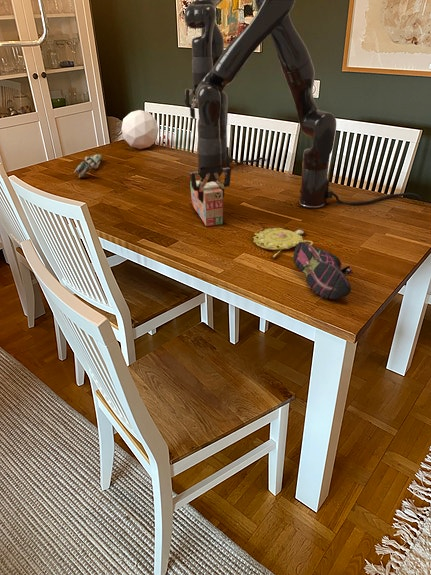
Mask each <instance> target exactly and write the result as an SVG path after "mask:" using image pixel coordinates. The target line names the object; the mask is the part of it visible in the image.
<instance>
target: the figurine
mask: <svg viewBox="0 0 431 575" xmlns="http://www.w3.org/2000/svg"><path fill="white" fill-rule="evenodd" d="M102 161H103V156H102V154H94V155H91V156H88V155H86V156H84V160H82V161H81V162H80V163H79V164H78V166H76V168H75V170H74V171H73V174H74V175H75V176H76V175H77V174H78V176H77V177H78V179H81V178H82V177H83V176H85V174H87V173H88V172H89V171H90V170H92V169H95V170H97V169H99V166H100V164H101V162H102Z"/></svg>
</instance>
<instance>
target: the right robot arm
mask: <svg viewBox="0 0 431 575" xmlns="http://www.w3.org/2000/svg"><path fill="white" fill-rule="evenodd" d="M295 3H296V0H255V6H256V9H257V12H256V14H255V16H254V17H253V18H252V20H251V21H250V22H249V24H248V25H247V26H246V27H245V28H244V29H243V30H242V31H241V32H240V33H239V34H238V35H237V36H236V37H235V38H233V40H232V41H231V42H230V43H228V45H227V46H226V47H225V48H224V52H223V53H222V55H221V56H220V58H219V59H218V60H217V62H216V64H215V65H214V67H213V68H212V70H211V71H210V72H209V73H208V74H207V75H206V76H205V77H204V79H203V80H202V81H201V82H200V84H199V85H198V87H197V89H196V92H195V95H194V96H195V98H196V101H197V102H198V103H197V108H198V110H197V111H198V120H197V158H198V159H197V161H198V169H197V171H192V170H191V171H189V178H190V182H191V184H192V188H193V189H194V191H198V199H199V200H200V201H201V202H203V188H204V186H205V185H206V183H209V182H215V183H216V184H217V185H218V186H219V187H220V188H221V190H222V191H223V198H225V188H226V187H227V188H228V187H230V185H231V177H232V175H231V174H232V169H231V168H230V167H229V168H228V167H226V168H222V166H221V165H222V163H221V140H220V122H219V119H220V109H221V96H220V93H221V92H224V89H225V88H226V87H227V85H230V84H231V83H233V81H235V79H236V77H237V76H238V74H239V73H240V72H241V70H242V69H243V67H244V66H245V65H246V63H247V62H248V61H249V60H250V58H251V56H252V55H253V54H254V52H255V51H256V50H257V49H258V48H259V46H260V45H261V44H262V43H264V41H265V40H266V38H267V37H269V36H270V38H271V42H272V44H273V48H274V51H275V53H276V57H277V60H278V62H279V65H280V68H281V71H282V75H283V77H284V79H285V82H286V84H287V86H288V89H289V92H290V95H291V98H292V101H293V104H294V106H295V110H296V115H297V118H298V123H299V126H300V129H301V132H302V133H303V134H304V135H305V136H306V137H307V138H310V139H313V140H312V145H311V147H307V148H305V149H304V150H303V153H302V154H303V155H302V168H301V179H300V189H299V202H298V203H299V205H300V206H301V207H304V208H306V209H320V208H323V207H324V206H327V204H328V200H329V199H333V197H334V198H335V200H336V202H337V203H339V204H343V205H349V206H357V205H359V206H360V205H367V204H372V203H375V202H378V201H382V200H386V199H389V198H394V197H395V198H396V197H406V196H408V197H409V196H412V197H415V198H417V199H418V200H422V197H421V196H420V195H418V194H417V193H413V192H404V193H402V192H401V193H392V194H388V195H385V196H381V197H376V198H374V199H371V200H365V201H364V200H363V201H353V202H348V201H343V200H341V199H340V197H339V196H338V194H336V193H335V192H334V191H333V190H332V189H330V188H329V187H330V179H328V174H329V166H330V158H331V157H330V156H331V154H332V152H333V149H334V144H335V137H336V132H337V119H336V116H335V115H334V114H333V113H332V112H329V111H325V110H320V109H319V107H318V106H317V103H316V101H315V98H314V94H313V92H314V90H313V89H314V84H315V78H316V73H315V72H316V71H315V66H314V63H313V61H312V58H311V54H310V52H309V49H308V47H307V45H306V43H305V42H304V40H303V39H302V37H301V35H300V34H299V33H298V31H297V30H296V27H295V26H294V24H293V21H292V18H291V16H290V13H291V11H292V10H293V8H294V6H295ZM222 174H223V175H224V181H222V179H221V176H222ZM198 176H199V177H200V179H199V180H200V181H199V185H198V186H197V184H196V181H197V178H198Z"/></svg>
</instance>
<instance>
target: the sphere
mask: <svg viewBox="0 0 431 575" xmlns="http://www.w3.org/2000/svg"><path fill="white" fill-rule="evenodd" d="M121 133H122V137H123V140H124V141H125V142H126V143H127V144H128V145H129V146H130V147H131V148H135V149H137V150H143V149H146V148H150V147H151V146H153V144H154V143H156V142H157V140H158V135H159V126H158V121H157V119H156V118H155V117H154V116H153V115H152V114H151V113H150V112H148V111H146V110H142V109H137V110H133V111H131V112H129V113H128V114H127V115H126V116H125V117H124V118H123V119H122V123H121Z"/></svg>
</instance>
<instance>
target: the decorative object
mask: <svg viewBox="0 0 431 575" xmlns="http://www.w3.org/2000/svg"><path fill="white" fill-rule="evenodd" d="M304 234H305V231H304V230H302V229H297V230H295V231H293V230H289V229H284V228H282V227H273V228H268V229H267V228H264V229H263V230H260V231H259V232H256V233H254V234H253V235H254V236H253V237H252V239H253V241H252V242H253V243H255V245H256V246H258V247H260V248H262V249H265V250H274V251H277V252H276V253H274V254H273V255H272V258H274V259H275V258H276V257H277V256H278V254H279V253H280V252H282V251H283V250H289V249H291V248H296V246H297V244H298V243H299V242H306V243H309V245H310V246H313V245H314V242H313V241H312V240H306V239H304V237H303V235H304Z"/></svg>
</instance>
